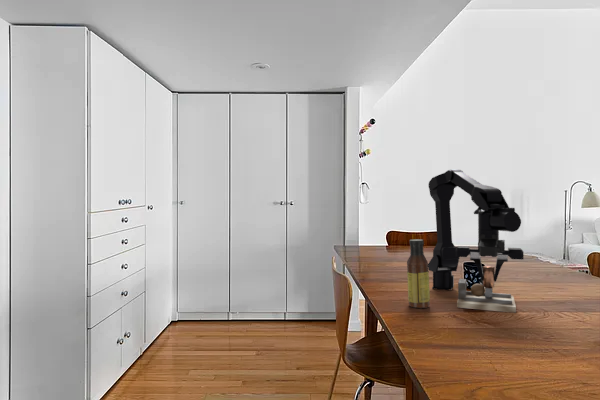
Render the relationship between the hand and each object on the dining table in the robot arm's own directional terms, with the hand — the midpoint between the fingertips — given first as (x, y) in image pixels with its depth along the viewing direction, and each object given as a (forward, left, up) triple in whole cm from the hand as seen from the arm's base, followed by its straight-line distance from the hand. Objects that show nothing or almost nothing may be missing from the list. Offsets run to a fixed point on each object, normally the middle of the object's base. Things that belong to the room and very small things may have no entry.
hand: (488, 281), depth 135 cm
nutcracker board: (-1, 0, -7) cm, 7 cm away
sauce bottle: (-19, -11, -7) cm, 23 cm away
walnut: (-3, 0, -5) cm, 6 cm away
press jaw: (0, 0, -5) cm, 5 cm away
